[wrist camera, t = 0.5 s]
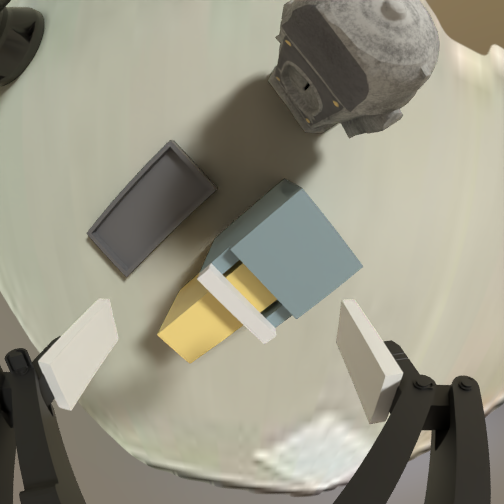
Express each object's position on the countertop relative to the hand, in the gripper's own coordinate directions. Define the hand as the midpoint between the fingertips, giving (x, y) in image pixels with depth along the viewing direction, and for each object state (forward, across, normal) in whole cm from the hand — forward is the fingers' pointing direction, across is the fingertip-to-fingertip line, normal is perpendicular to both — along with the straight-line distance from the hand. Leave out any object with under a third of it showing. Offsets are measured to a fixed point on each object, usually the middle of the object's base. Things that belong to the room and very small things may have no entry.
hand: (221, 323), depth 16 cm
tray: (+24, -12, +3) cm, 27 cm away
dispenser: (+24, +4, -1) cm, 25 cm away
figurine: (+24, +10, +18) cm, 32 cm away
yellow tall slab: (+25, -2, -6) cm, 25 cm away
